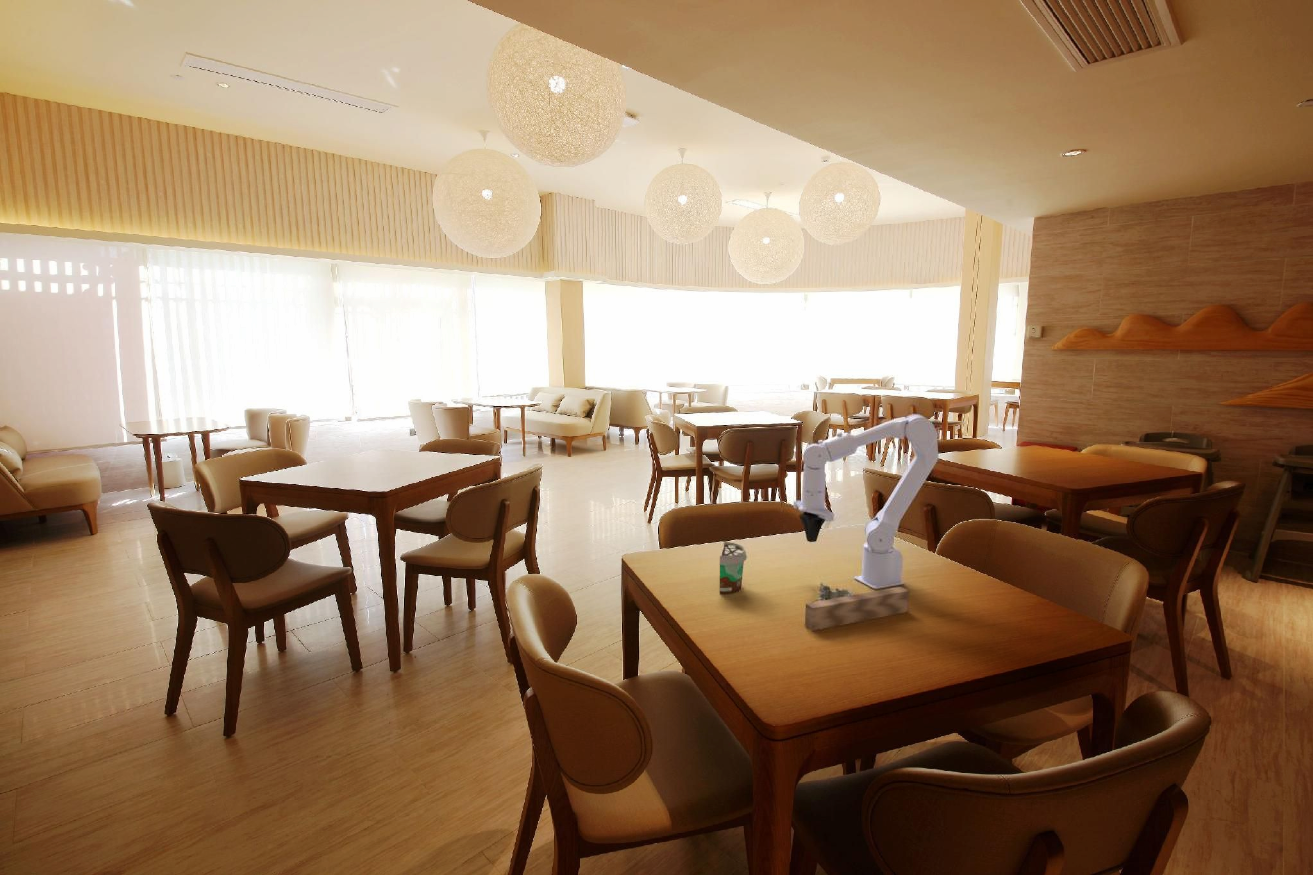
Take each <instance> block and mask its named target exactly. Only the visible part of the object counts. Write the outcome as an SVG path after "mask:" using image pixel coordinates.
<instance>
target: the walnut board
mask: <svg viewBox="0 0 1313 875" xmlns="http://www.w3.org/2000/svg"><path fill="white" fill-rule="evenodd" d="M909 596H910V590H908V589H907V588H904V587H902V586H897V587H891V588H886V589H881V590H876V591H875V590H874V591H870V592H864V593H858V594H853V595H852V596H846V597H840V598H835V599H829V598H828V599H826V600H824V601H819V600H818V601H812V602H807V603H805V615H804V626H805V627H806V628H807V629H809V630H810V629H811V630H810V631H813V632H814V631H818V630H817V629H819V630H823V628H824V629H829V628H834V627H837V626H838V627H839V626H842V625H848V624H853V623H857V622H858V623H859V622H862V621H868V620H873V619H878V618H883V617H889V616H894V615H898V614H904V613H907V612H908V611H909Z"/></svg>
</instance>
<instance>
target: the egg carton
mask: <svg viewBox="0 0 1313 875" xmlns="http://www.w3.org/2000/svg"><path fill="white" fill-rule="evenodd" d="M852 595H854V594H853V590H851V589H849V590H848V589H844V588H843V589H839V588H835V590H831V588H830V586H829V585H823V582H820V585H819V593H818V601H824V600H827V599H828V600H829V599H835V598H840V597H846V596H852Z"/></svg>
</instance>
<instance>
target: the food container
mask: <svg viewBox="0 0 1313 875" xmlns="http://www.w3.org/2000/svg"><path fill="white" fill-rule="evenodd" d="M721 551H722V552H721V555H719V595H731V594H736V593H738V592H740V591H741V590H742V583H743V573H744V565H745V562H746V560H747V558H748V556H747V552H746V550H745V547H743V546H742V545H740V544H739V543H735V542H731V541H723V549H722V550H721Z"/></svg>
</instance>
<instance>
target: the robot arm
mask: <svg viewBox="0 0 1313 875" xmlns="http://www.w3.org/2000/svg"><path fill="white" fill-rule="evenodd" d="M835 434H836V436H833V437H829V438H828V439H825V440H823V439H819V440H818V442H817V443H811V444H809V445H807V446H806V448H805V449H804V450H803V454H802V457H803V458H802V459H803V462H804V464H803V472H802V490H801V492H802V493H801V494H802V495H801V500H793V508H794V509H797V510H798V511H799V512H803V513H800V514H798V517H799V519H800V520H801V522H802V526H803V529H804V533H805V537H806V538H805V539H806V541H807V542H809V543H815V542H817V540H818V538H819V533H820V531H821V529H822V527H823V525H824V523H825V522H833V521H835V517H834V516H835V513H833V512H831V511H830V510H829V509H828V508H826V507H825V503H826V502H825V500H826V479H827V478H826V476H827V475H826V474H827V473H826V472H825V470H826V468H825V467H826V464H827V462H829V463H832V462H835V461H837V460H840V459H843V458H846V457H849V456H852V455H855V454H856V452H857V450H858V448H859V447H862V446H866V445H869V444H872V443H875V442H879V441H882V440H884V439H889V438H894V439H900V440H905V437H906V439H907V440H908V441H909V442H910V445H911V448H912V452H913V453H914V456H913V458H912V460H911V462H910V463H909V465H908V467H907V468H906V469H905V471H904V473H903V474H902V476H901V478H900V479H899V481H898V482H897V485H896V486H895V487H894V489H893V491H892V493H891V494H890V496H889V497H888V499H887V501H886V502H885V504H884V505H883V508H882V509H880V510H879V511H878V512H877V514H876V515H875V516H874V517H873V518H872V519H870V520H869V521H868V522H867V523H866V524H865V527H864V534H865V536H866V542H864V544H862V545H863V547H862V562H861V563H862V564H861V565H862V567H861V575H855V576H854V577H853V579H855V580H857V581H859V582H860V583H863V584H864V585H867V586H868V587H870V588H873V589H875V590H877V589H883V588H889V587H894V586H900V585H904V584H905V582H904V581H903V580H902V578H903V566H904V565H903V563H904V561H903V560H904V558H903V555H902V552H901V550H900V549H899V548H898V547H896V546H894V543H895V535H896V533H897V531H898V529H899V527H900V526H899V525H900V524H901V520H902V518H903V516H904V515H905V513H906V512H907V510H908V509H909V507H910V505H911V503H912V502H913V500H914V499H915V497H916V496H917V494H918V492H919V491H920V489H921V488H922V486H923V484H924V483H925V482H926V480H927V478H928V476H929V475H930V473H931V472H932V470H933V468H934V467H935V465H936V464H937V462H938V459H939V448H938V446H939V444H938V438H939V437H938V436H939V434H938V432H937V430H936V428H935V426H934V424H933V422H932V421H931V420H930V419H928V418H927V417H925V416H923V415H922V414H919V413H913V414H909V415H907V416H906V417H905V416H902V417H897V418H895V419H891V420H888V421H886V422H882V423H881V424H878V425H875V426H873V427H871V428H868V429H866V430H863V431H861V432H859V433H856V434H851V433H848V432H844V433H843V432H842V431H840V432H837V433H835Z"/></svg>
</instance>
